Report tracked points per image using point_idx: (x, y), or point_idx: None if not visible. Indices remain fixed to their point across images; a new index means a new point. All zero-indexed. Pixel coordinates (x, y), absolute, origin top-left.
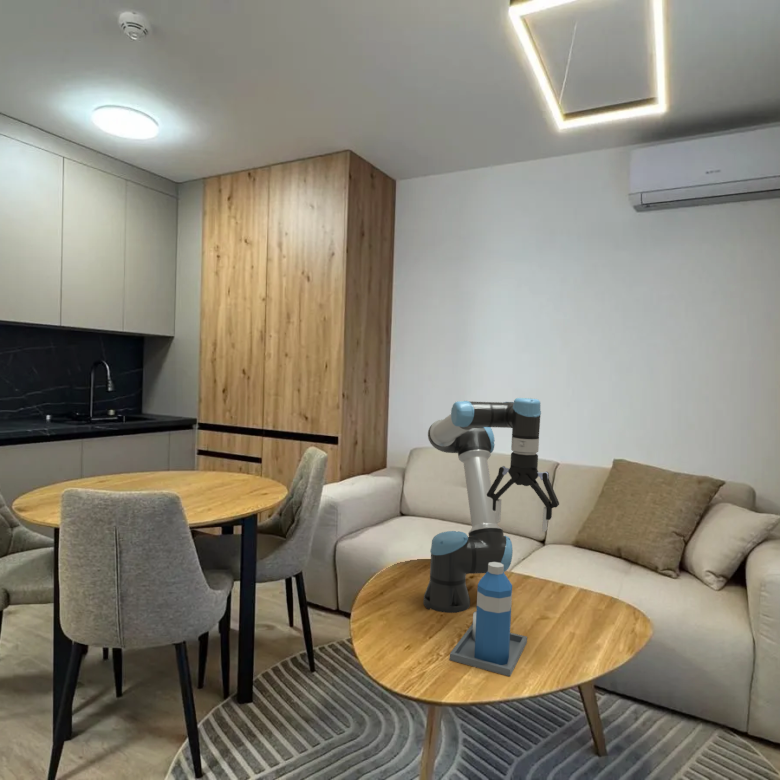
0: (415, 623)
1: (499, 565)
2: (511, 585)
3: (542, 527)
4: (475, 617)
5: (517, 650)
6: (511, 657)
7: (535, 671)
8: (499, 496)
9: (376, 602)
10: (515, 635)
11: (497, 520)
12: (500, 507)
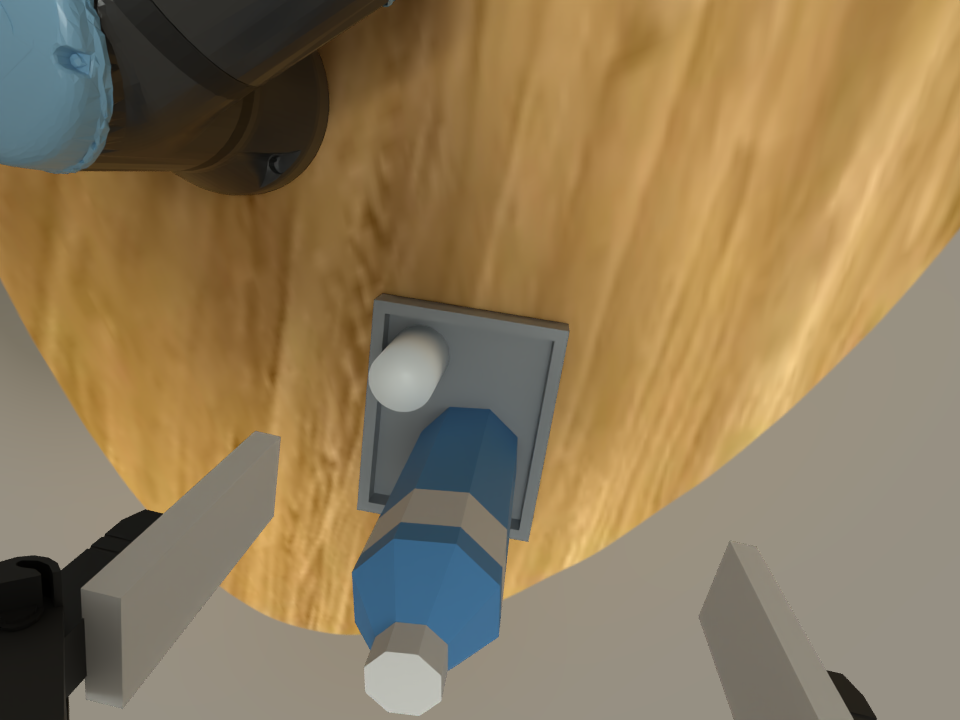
0: (197, 300)
1: (422, 691)
2: (497, 600)
3: (710, 647)
4: (382, 402)
5: (541, 435)
6: (525, 435)
7: (595, 468)
8: (56, 657)
9: (9, 186)
10: (529, 336)
11: (258, 534)
12: (194, 546)
